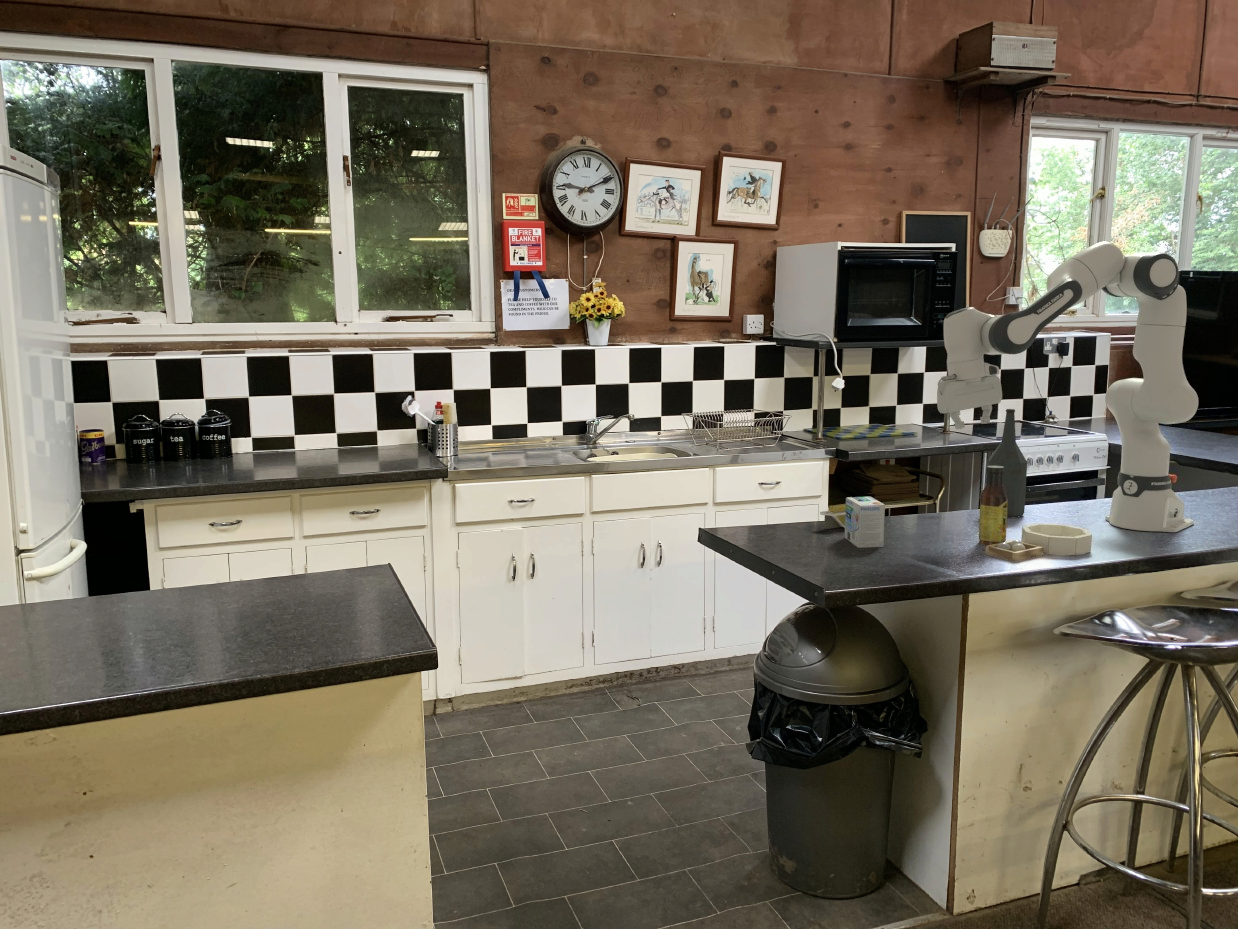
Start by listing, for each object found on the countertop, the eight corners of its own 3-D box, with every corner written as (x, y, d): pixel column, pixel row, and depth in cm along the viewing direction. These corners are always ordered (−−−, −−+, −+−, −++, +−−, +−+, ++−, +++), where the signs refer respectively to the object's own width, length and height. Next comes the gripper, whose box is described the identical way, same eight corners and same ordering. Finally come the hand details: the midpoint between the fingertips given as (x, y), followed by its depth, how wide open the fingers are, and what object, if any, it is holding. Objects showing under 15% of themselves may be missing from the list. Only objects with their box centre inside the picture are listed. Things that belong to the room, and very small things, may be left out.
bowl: (1046, 540, 234) (1048, 521, 233) (1101, 553, 222) (1103, 532, 221) (1009, 548, 227) (1010, 528, 226) (1063, 561, 215) (1065, 540, 214)
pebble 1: (1001, 552, 220) (1002, 540, 220) (1012, 555, 218) (1013, 543, 217) (993, 554, 219) (994, 542, 218) (1004, 557, 216) (1005, 544, 216)
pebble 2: (1014, 550, 222) (1015, 538, 222) (1026, 553, 220) (1026, 540, 219) (1006, 552, 221) (1007, 539, 220) (1017, 554, 218) (1018, 542, 218)
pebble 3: (1016, 553, 219) (1017, 541, 219) (1028, 556, 216) (1028, 544, 216) (1008, 555, 218) (1009, 543, 217) (1019, 558, 215) (1020, 545, 215)
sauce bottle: (1007, 550, 226) (1012, 469, 222) (980, 549, 227) (984, 468, 224) (1002, 543, 232) (1006, 464, 229) (975, 542, 233) (980, 464, 230)
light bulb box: (843, 537, 240) (845, 496, 238) (869, 537, 240) (870, 495, 239) (858, 548, 229) (859, 505, 228) (884, 547, 230) (886, 504, 228)
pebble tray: (1012, 551, 224) (1013, 540, 224) (1042, 558, 217) (1043, 547, 217) (985, 557, 219) (985, 545, 219) (1014, 565, 212) (1015, 553, 212)
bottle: (1031, 516, 262) (1038, 409, 257) (1004, 519, 259) (1010, 411, 254) (1005, 509, 272) (1011, 406, 267) (978, 512, 268) (983, 408, 263)
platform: (879, 530, 250) (879, 506, 248) (827, 538, 241) (827, 513, 240) (848, 521, 260) (848, 498, 259) (797, 529, 251) (797, 505, 250)
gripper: (947, 376, 230) (954, 431, 231) (1003, 366, 240) (1009, 419, 241) (927, 378, 236) (934, 432, 237) (983, 368, 245) (989, 421, 246)
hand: (973, 426), depth 239 cm, fingers open, 8 cm apart
